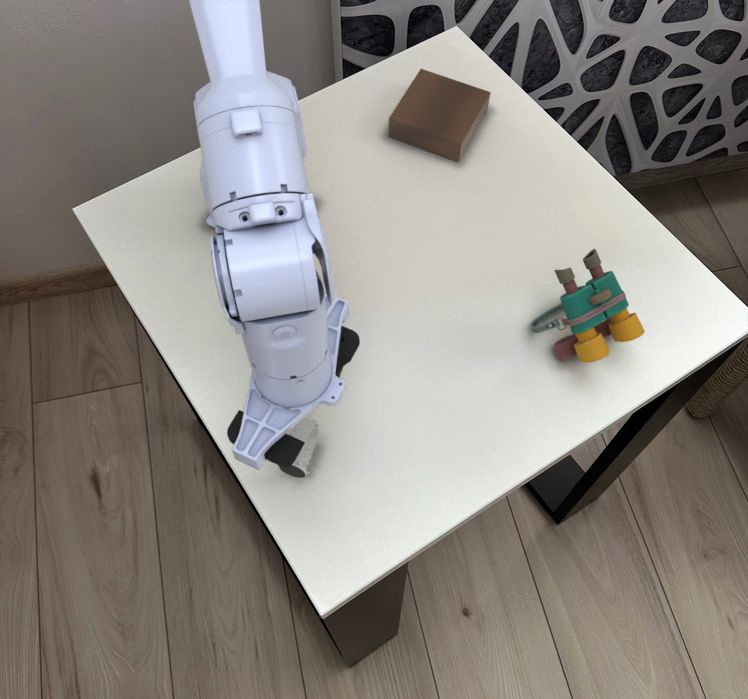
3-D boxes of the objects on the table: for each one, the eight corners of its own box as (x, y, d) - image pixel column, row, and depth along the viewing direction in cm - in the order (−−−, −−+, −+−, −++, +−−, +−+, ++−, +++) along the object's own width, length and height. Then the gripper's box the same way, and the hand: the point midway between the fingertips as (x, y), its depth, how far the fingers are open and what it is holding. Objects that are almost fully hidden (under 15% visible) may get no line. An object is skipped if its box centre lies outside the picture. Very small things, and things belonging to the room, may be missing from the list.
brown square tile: (388, 136, 91) (388, 118, 88) (419, 87, 94) (420, 68, 92) (458, 162, 89) (461, 143, 86) (487, 111, 93) (490, 91, 90)
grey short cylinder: (280, 477, 71) (274, 457, 66) (299, 429, 73) (295, 407, 69) (309, 486, 70) (305, 468, 66) (328, 438, 73) (325, 417, 68)
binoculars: (534, 367, 79) (588, 371, 69) (497, 286, 77) (547, 279, 68) (605, 326, 81) (667, 324, 71) (570, 247, 80) (628, 234, 70)
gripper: (287, 456, 49) (304, 517, 61) (385, 284, 55) (382, 370, 67) (193, 412, 50) (227, 480, 62) (298, 249, 56) (310, 339, 68)
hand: (302, 421), depth 65 cm, fingers open, 7 cm apart
